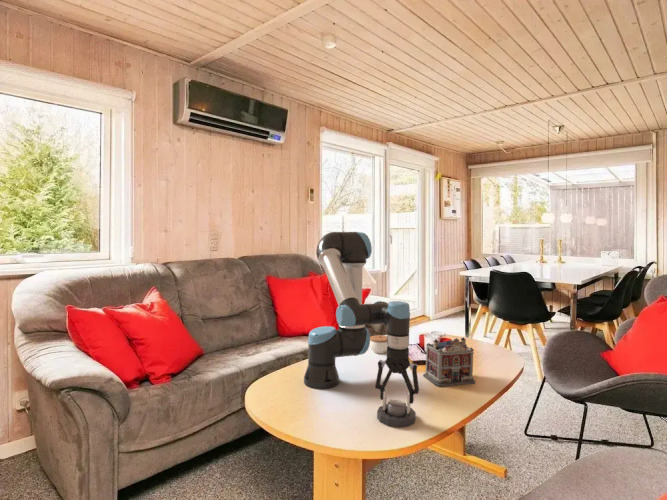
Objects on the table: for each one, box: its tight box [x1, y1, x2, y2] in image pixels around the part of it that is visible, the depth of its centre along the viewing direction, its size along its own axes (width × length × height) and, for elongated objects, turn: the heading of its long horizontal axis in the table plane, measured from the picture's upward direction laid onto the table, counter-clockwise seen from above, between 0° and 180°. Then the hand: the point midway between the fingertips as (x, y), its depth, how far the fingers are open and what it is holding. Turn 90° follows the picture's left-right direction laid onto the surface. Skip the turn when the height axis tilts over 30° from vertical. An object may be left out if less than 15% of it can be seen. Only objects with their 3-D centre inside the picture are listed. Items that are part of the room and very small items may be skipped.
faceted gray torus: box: [376, 403, 417, 429], centre depth 151 cm, size 13×13×2 cm
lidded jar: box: [369, 334, 388, 355], centre depth 230 cm, size 11×11×9 cm
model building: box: [422, 337, 477, 388], centre depth 190 cm, size 19×14×20 cm
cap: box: [387, 399, 407, 417], centre depth 151 cm, size 6×6×5 cm
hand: (396, 410), depth 151 cm, fingers open, 8 cm apart
